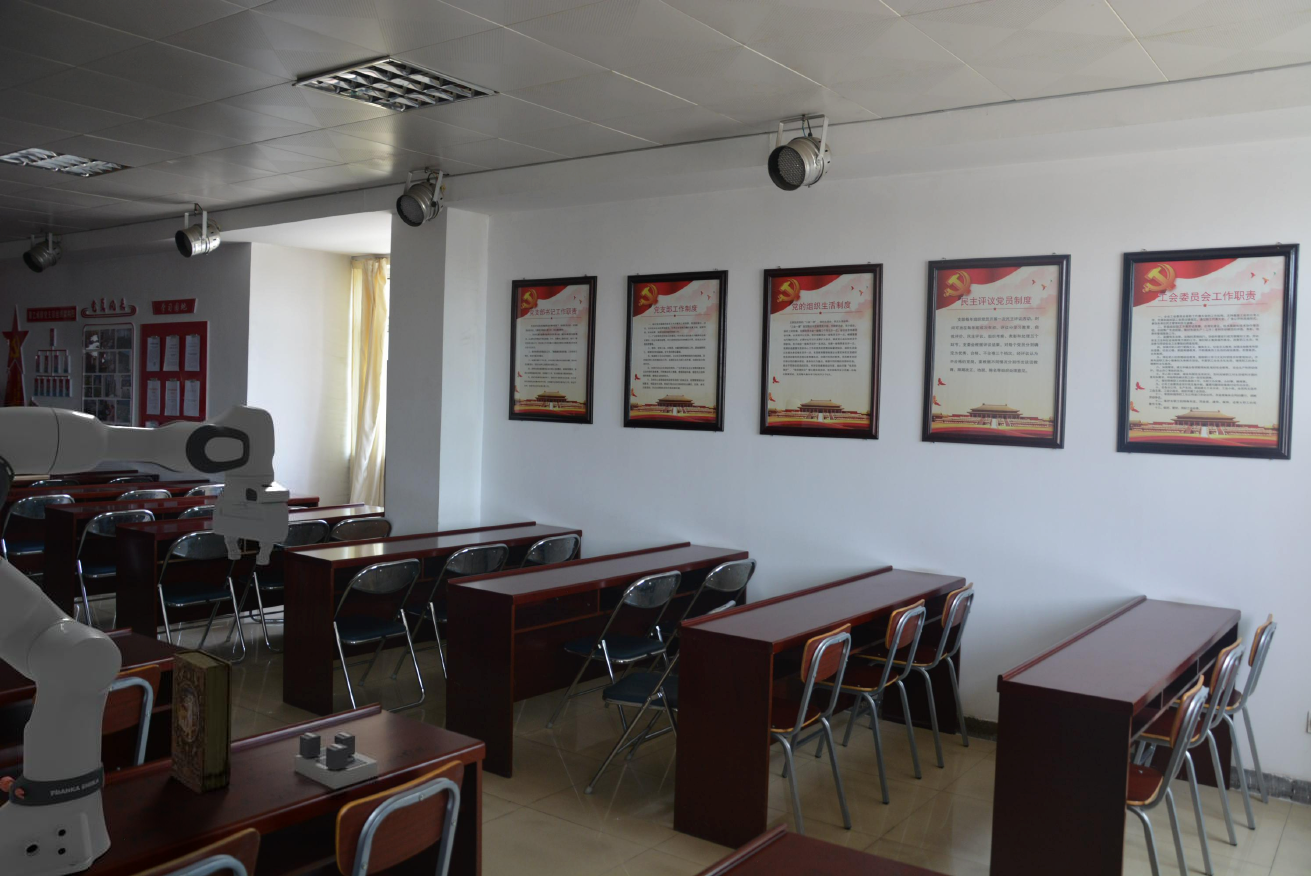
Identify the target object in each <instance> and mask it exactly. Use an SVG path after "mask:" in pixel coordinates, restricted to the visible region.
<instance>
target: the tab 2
mask: <svg viewBox="0 0 1311 876" xmlns="http://www.w3.org/2000/svg"><path fill="white" fill-rule="evenodd" d="M325 748H326V767H328V768H330V769H332V770H337V769H341V768H344V767H347V761H348V747H347V746H344V745H342V744H334V743H331V744H330V745H329V746H325Z"/></svg>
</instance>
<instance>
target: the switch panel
mask: <svg viewBox="0 0 1311 876" xmlns="http://www.w3.org/2000/svg"><path fill="white" fill-rule="evenodd" d="M293 770H294V771H295V772H297V773H299V774H302V775H304V776H305V777H308V778H310V779H312V780H314V781H316V782H319V783H320V784H323V785H325V786H327V787H328V788H331V789H333V790H336V789H339V788H344V787H346V786H350V785H352V784H356V783H359V782H361V781H364V780H369V779H372V778H375V777H377V776H378V771H379V770H378V761H377V760H375V759H373V758H370V757H368V756H366V755H364V754H361V753H359V752H357V751H355V754H354V755H351V756H348V761H347V767H344V768H341V769H337V770H332V769H330V768H328V767H326V747H323V748H320V755H317V756H314V757H310V758H305V757H303V756H301V755H299V754H298V755H295V756H294V769H293ZM374 776H375V777H374ZM371 777H372V778H371Z"/></svg>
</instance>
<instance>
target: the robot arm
mask: <svg viewBox="0 0 1311 876" xmlns="http://www.w3.org/2000/svg"><path fill="white" fill-rule="evenodd" d="M275 442H276V439H275V425H274V421H273V418H272V414H271V413H270V412H268V410H266V409H264V408H260V407H256V406H250V405H249V406H248V405H244V404H234V405H231V406H230V407H229V408H228V409H226V410H225V411H224V412H222V413H220V414H218V415H216V416H214V417H212V418H210V419H209V418H208V419H205V420H203V421H200V422H199V421H188V420H183V419H179V420H178V419H176V420H171V421H169V422H168V421H167V422H165V423H162V424H161V425H157V426H154V427H136V426H133V427H132V426H118V425H116V426H115V425H110V424H105V423H103V422H102V421H101V420H100V419H99V418H98V417H97V416H95V415H93V414H89V413H87V412H82V411H78V410H75V409H74V410H73V409H67V408H63V407H62V408H61V407H60V408H59V407H48V406H7V407H6V406H5V407H4V406H3V407H2V406H1V407H0V511H1V510H2V509H3V507H4V505H5V503H6V501H7V497H8V493H9V490H10V488H11V486H12V484H13V482H14V479H15V478H16V477H15V476H16V475H23V474H24V475H68V474H69V475H70V474H71V475H72V474H76V473H77V474H78V473H83V472H89V471H91V470H93V469H95V468H96V467H97V466H98V465H99V464H100V463H102V462H109V461H114V462H115V461H116V462H117V461H118V462H121V461H122V462H145V463H150V464H153V465H156V466H158V467H159V468H162V469H164V470H166V471H169V472H172V473H178V474H179V473H188V474H198V475H206V476H207V475H215V474H219V473H223V472H224V481H223V483H224V486H223V487H221V490H220V491H219V492H218V493H217V497H216V499H215V502H214V505H213V510H212V511H213V513H212V522H211V523H212V524H211V526H212V527H211V528H212V531H213V533H214V534H215V535H220V536H224V543H225V545H226V548H227V551H228V552H227V554H228V555H227V556H228V559H230V560H234V561H235V560H240V559H241V557H242V555H241V554H242V550H241V549H239V545H238V541H239V539H244V540H250V541H257V542H259V543H258V544H259V547H260V550H259V553H258V554H256V555H255V556H256V557H255V558H256V562H255V563H256V564H257V565H260V566H263V565H264V566H265V565H269V564H270V555H271V553H272V552H273V551H272V550H273V548H274V543H281V542H282V543H283V542H284V541H286V540H287V537H288V535H289V523H290V522H289V521H290V520H289V519H290V518H289V517H290V513H289V507H288V503H287V502H288V501H290V497H291V495H290V494H291V493H290V490H289V489H288V488H286V487H285V486H283V485H281V484H280V483H279V482H278V481H276V480H275V471H274V467H273V461H274V460H273V458H274V456H275V452H276V451H275V450H276V446H275V445H276V443H275ZM0 659H2V660H3V661H4V662H6V663H7V664H9V665H10V666H11V667H12V668H13V669H14V670H16V671H18V672H19V673H20V674H21V675H23V676H24V677H25V678H28V679H30V680H32V681H34V682H35V685H36V695H35V700H34V705H33V708H32V712H31V716H30V719H29V720H28V721H27V723H26V724H25V727H24V729H23V772H22V773H21V774H20V775H19V776H18V778H17V779H16V780H15V779H13V778H12V777H10V776H5V777H2V778H1V779H0V789H1V791H4V792H7V793H8V799H9V800H7V801H6V802H5V803H4V804H3V805H2V806H1V807H0V876H65V875H69V874H73V873H78V872H81V871H85V870H87V869H88V867H89V868H90V867H91V866H92V865H93V862H94V861H95V860H96V859H97V858H99V857H101V856H102V855H103V854H105V853H106V852H107V851H108V850H109V848H110V846H111V840H110V837H109V834H108V831H107V830H108V829H107V826H106V822H105V816H104V811H103V800H102V799H103V798H102V796H103V795H104V787H105V771H104V763H103V762H102V761H101V760H102V759H101V758H102V757H101V756H102V728H103V727H102V726H103V716H104V711H105V707H106V702H107V699H108V696H109V691H110V687H111V685H112V684H113V683H114V682H115V681H116V679H117V678H118V676H119V674H120V671H121V668H122V663H123V661H122V660H123V659H122V653H121V650H120V649H119V648H118V646H117V645H116V642H114V641H113V640H112V638H111V637H109V635H108V634H106V633H105V632H103V631H101V630H99V629H97V628H94V627H92V626H89V625H86V624H84V623H82V622H79V621H78V620H76V619H74V618H73V617H71V616H69V615H68V614H67V613H66V612H64V611H63V610H62V609H61V608H60V607H59V606H58V605H57V604H56V603H54V601H52V600H51V598H49V596H47V594H46V593H44V592H43V590H42V589H41V587H40V586H39V585H38V584H36V583H35V582H34V581H33V580H31V579H30V578H29V577H28V576H27V575H25V574H24V573H22V572H21V571H20V570H19V569H18V568H16V567H15V566H14V565H12V564H11V562H9V561H8V560H6V558H4V557H2V556H1V555H0Z"/></svg>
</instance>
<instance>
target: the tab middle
mask: <svg viewBox="0 0 1311 876" xmlns="http://www.w3.org/2000/svg"><path fill="white" fill-rule="evenodd" d="M333 741H334V743H333V744H342V745H344V746H347V747H348V756H351V755H354V754H355V752H356V734H354V733H353V734H352V733H350V732H340V733H338V734H335V735H334V740H333Z"/></svg>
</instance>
